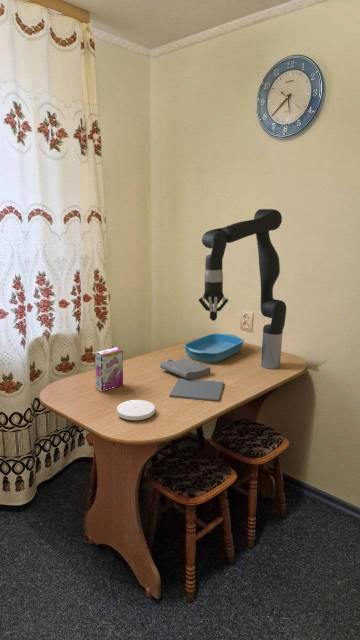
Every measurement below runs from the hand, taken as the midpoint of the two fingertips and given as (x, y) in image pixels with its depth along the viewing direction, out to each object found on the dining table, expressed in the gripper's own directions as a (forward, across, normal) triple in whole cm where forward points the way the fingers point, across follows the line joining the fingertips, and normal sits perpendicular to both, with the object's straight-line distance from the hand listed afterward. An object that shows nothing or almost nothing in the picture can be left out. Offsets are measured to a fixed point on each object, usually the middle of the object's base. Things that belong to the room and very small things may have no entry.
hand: (213, 320), depth 185 cm
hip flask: (+26, +7, -3) cm, 27 cm away
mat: (+28, +5, +11) cm, 30 cm away
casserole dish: (+30, +5, -38) cm, 49 cm away
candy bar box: (+28, +42, +16) cm, 53 cm away
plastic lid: (+28, +24, +37) cm, 52 cm away
